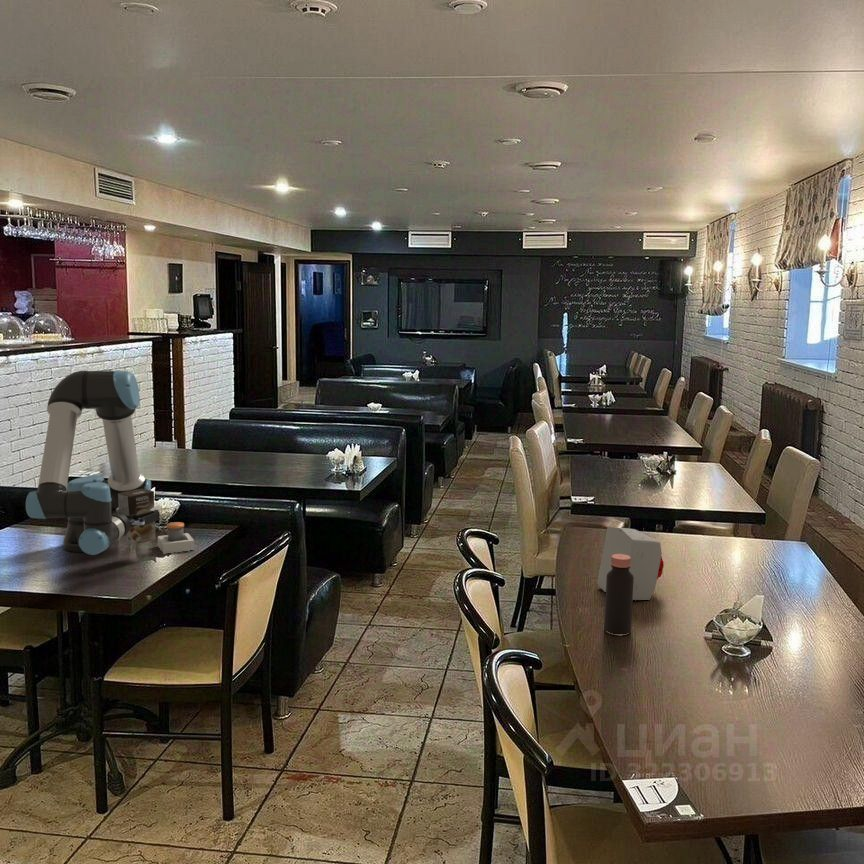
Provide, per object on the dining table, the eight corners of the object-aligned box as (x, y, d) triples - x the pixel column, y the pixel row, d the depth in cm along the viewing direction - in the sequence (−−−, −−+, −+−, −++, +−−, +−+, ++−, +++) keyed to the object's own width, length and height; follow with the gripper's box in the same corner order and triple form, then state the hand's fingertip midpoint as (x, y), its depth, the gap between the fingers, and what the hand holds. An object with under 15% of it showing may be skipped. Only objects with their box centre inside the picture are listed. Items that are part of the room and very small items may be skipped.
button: (165, 538, 287) (165, 523, 286) (182, 536, 290) (182, 521, 289) (168, 542, 282) (168, 527, 281) (186, 541, 285) (185, 525, 284)
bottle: (605, 625, 225) (608, 551, 222) (631, 628, 223) (635, 554, 220) (602, 634, 219) (606, 559, 215) (629, 638, 217) (633, 561, 214)
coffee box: (131, 546, 268) (129, 496, 265) (119, 542, 271) (116, 493, 269) (156, 539, 275) (154, 491, 272) (144, 536, 279) (141, 487, 276)
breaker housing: (158, 546, 288) (157, 536, 288) (188, 542, 293) (188, 532, 292) (163, 554, 280) (163, 544, 279) (194, 550, 284) (194, 540, 284)
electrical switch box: (666, 607, 245) (679, 539, 243) (620, 604, 240) (633, 535, 238) (639, 590, 259) (652, 526, 257) (596, 587, 254) (608, 521, 252)
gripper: (76, 539, 255) (108, 518, 277) (151, 541, 254) (176, 520, 276) (75, 514, 254) (106, 496, 276) (150, 517, 253) (176, 498, 275)
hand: (141, 508), depth 276 cm, fingers closed on coffee box, 10 cm apart
